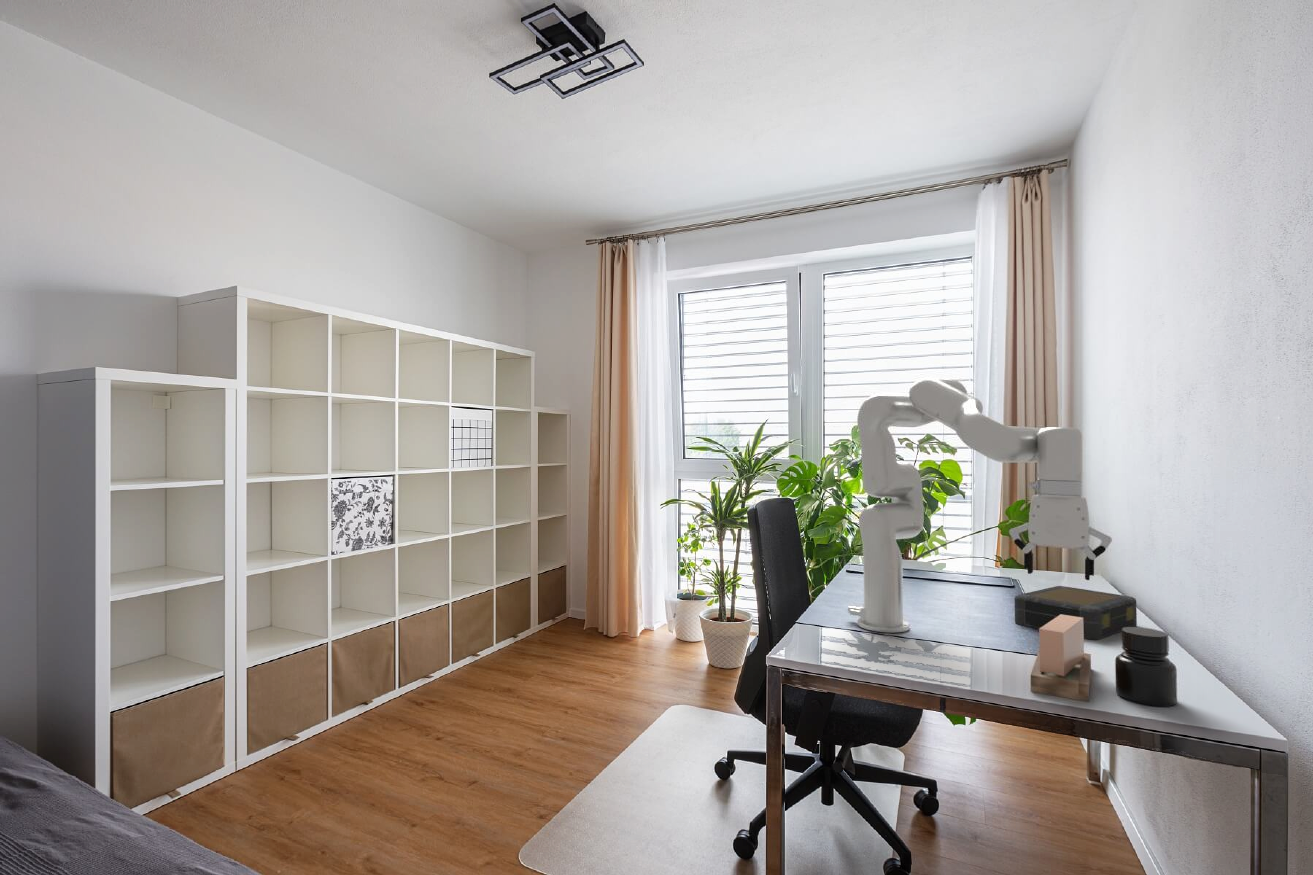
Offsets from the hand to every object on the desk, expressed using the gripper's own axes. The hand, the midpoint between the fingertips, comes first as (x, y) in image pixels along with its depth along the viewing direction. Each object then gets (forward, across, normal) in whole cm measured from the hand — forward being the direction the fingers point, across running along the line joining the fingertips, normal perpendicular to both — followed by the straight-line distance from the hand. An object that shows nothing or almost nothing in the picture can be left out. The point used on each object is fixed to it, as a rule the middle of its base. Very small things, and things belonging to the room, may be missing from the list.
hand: (1058, 575), depth 128 cm
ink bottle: (+20, +14, -3) cm, 25 cm away
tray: (+20, +1, 0) cm, 20 cm away
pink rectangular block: (+17, +1, 0) cm, 17 cm away
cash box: (+21, +1, +51) cm, 55 cm away
